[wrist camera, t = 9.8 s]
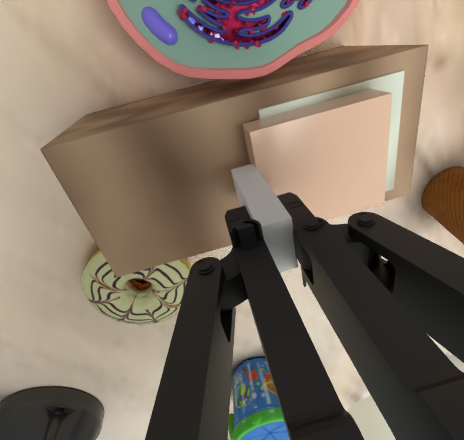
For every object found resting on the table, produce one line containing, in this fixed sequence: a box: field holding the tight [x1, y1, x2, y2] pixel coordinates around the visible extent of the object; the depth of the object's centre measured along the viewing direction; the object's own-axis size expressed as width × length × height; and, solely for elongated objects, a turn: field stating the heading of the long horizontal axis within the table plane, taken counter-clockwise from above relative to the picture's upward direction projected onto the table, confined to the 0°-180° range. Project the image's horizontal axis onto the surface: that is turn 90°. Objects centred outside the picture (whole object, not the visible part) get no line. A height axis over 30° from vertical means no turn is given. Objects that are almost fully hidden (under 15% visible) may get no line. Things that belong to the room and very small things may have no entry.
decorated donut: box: [81, 249, 191, 325], centre depth 32 cm, size 11×12×4 cm
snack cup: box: [228, 358, 290, 440], centre depth 44 cm, size 16×10×10 cm
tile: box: [242, 89, 392, 220], centre depth 18 cm, size 2×7×8 cm
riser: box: [40, 45, 428, 277], centre depth 23 cm, size 23×10×10 cm, turn 102°
